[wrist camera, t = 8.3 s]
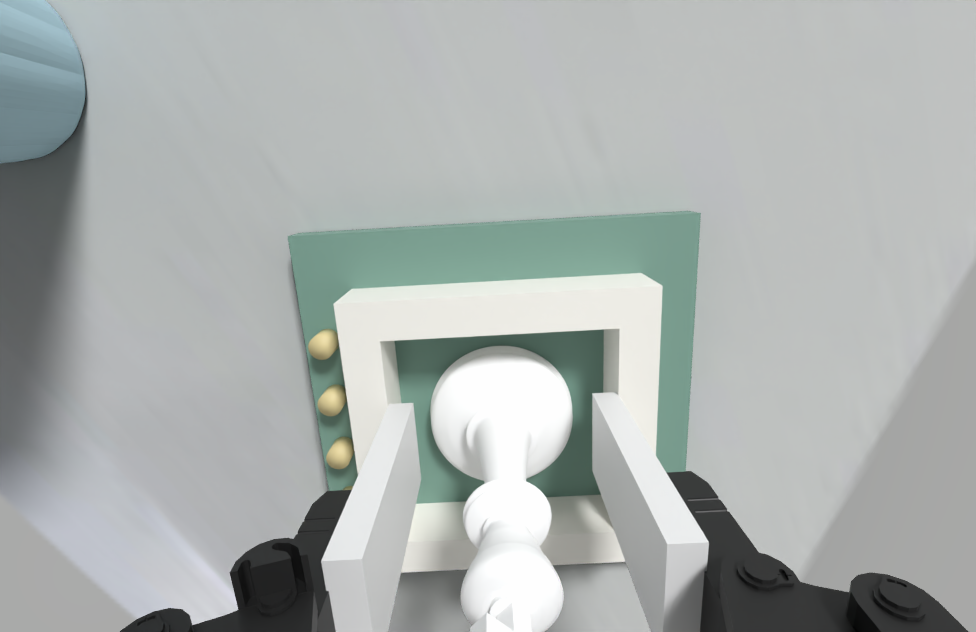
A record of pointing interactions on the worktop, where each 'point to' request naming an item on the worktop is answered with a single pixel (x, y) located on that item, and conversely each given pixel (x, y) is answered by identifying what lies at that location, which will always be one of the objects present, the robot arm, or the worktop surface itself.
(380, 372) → the header board
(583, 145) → the worktop surface
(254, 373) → the worktop surface
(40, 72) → the cup
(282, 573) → the robot arm
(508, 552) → the chess piece
